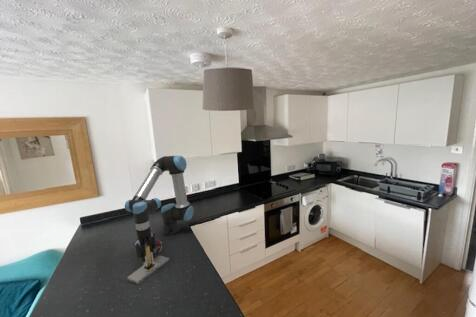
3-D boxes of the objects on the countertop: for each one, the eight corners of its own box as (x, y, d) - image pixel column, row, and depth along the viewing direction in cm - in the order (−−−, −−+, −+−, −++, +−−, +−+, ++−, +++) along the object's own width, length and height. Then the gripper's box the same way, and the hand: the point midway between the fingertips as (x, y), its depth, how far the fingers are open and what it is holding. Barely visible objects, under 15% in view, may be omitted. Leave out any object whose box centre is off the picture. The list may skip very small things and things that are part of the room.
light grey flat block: (150, 263, 128) (149, 260, 128) (160, 266, 124) (159, 263, 123) (127, 280, 114) (127, 277, 114) (138, 284, 110) (137, 281, 110)
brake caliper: (141, 254, 134) (143, 236, 140) (147, 255, 144) (148, 238, 149) (159, 252, 136) (159, 233, 141) (163, 253, 145) (163, 236, 151)
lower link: (159, 256, 134) (159, 255, 134) (169, 259, 130) (168, 258, 130) (139, 271, 121) (139, 270, 121) (149, 275, 117) (149, 274, 117)
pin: (150, 266, 125) (146, 243, 122) (154, 267, 123) (150, 245, 121) (145, 269, 121) (141, 247, 119) (149, 271, 120) (145, 248, 118)
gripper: (150, 220, 127) (155, 254, 131) (126, 233, 113) (132, 271, 116) (158, 222, 124) (163, 256, 127) (134, 236, 109) (141, 274, 113)
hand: (148, 263), depth 122 cm, fingers closed on pin, 3 cm apart
